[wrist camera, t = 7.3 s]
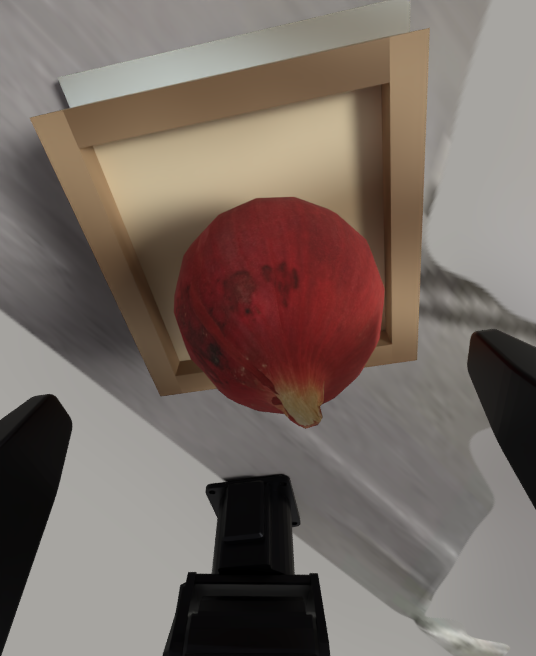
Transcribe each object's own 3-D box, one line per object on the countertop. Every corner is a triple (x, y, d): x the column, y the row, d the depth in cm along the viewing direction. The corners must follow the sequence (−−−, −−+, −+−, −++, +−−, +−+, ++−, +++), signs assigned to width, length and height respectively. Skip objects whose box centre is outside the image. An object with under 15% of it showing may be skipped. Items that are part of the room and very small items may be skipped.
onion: (177, 298, 15) (128, 481, 9) (210, 144, 12) (172, 246, 6) (315, 330, 16) (364, 511, 10) (377, 197, 13) (506, 333, 7)
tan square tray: (402, 305, 21) (440, 374, 16) (171, 341, 22) (146, 415, 18) (405, -3, 14) (474, -34, 9) (64, 77, 15) (-24, 84, 11)
